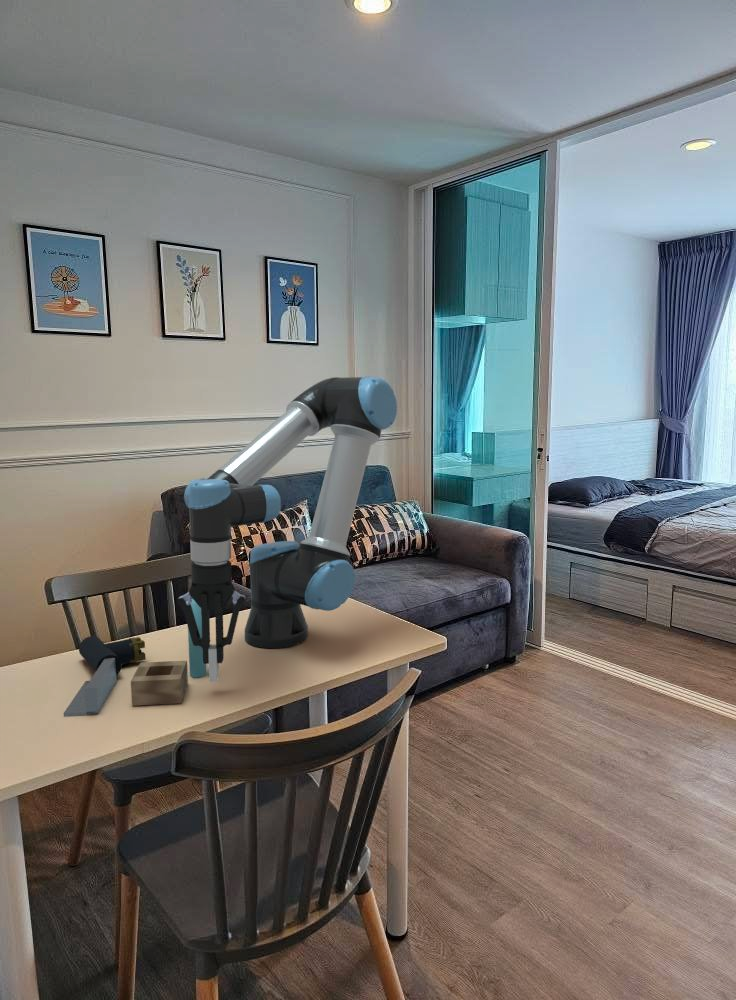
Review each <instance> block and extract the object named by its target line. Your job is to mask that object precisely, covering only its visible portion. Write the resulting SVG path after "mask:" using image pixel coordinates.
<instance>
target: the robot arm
mask: <svg viewBox="0 0 736 1000" xmlns="http://www.w3.org/2000/svg"><path fill="white" fill-rule="evenodd" d="M397 404H398V402H397V397H396V395H395V392H394V389H393V387H392V385H390V384H389V382H388V381H386V380H385V379H383V378H382V377H381V378H380V377H372V376H367V375H366V376H360V377H359V376H358V377H357V376H355V377H352V376H351V377H350V376H349V377H329V378H326V379H322V380H321V381H319V382H317V383H314V384H313V385H312V386H310V387H309V388H307V389H305V390H304V391H303V392H302V393H300V394H299V395H298V396H296V397H295V398H294V399H293V400H291V401H290V402H289V403H288V404H287V405H286V411H285V412H284V413H283V414H281V415H280V417H278V418H277V419H276V420H275V421H274V422H272V423H271V424H270V425H269V426H268V427H266V428H264V430H263V431H262V432H261V433H260V434H258V435H257V436H256V437H255V438H253V439H252V440H251V441H250V442H249V443H248V444H246V445H245V446H244V447H243V448H242V449H240V450H239V451H238V452H237V453H236V454H235V455H233V457H231V458H230V459H229V460H228V461H226V463H224V464H223V465H222V466H220V467H219V469H217V470H215V472H214V473H212V474H211V475H210V476H209V477H207V478H200V479H199V478H196V479H194V480H192V481H190V482H189V483H188V484H187V486H186V487H185V489H184V495H183V499H184V503H185V505H186V507H187V508H188V513H189V514H188V515H189V531H190V532H189V533H190V539H189V542H190V543H189V544H190V547H189V548H190V560H191V561H192V563H191V564H190V573H191V574H190V575H191V576H190V579H191V582H190V583H191V585H190V587H189V589H188V591H187V593H185V594H181V595H180V596H179V597H178V598H177V605H179V606H180V609H181V610H182V611H183V614H184V619H185V621H186V625H187V630H188V629H189V632H190V636H191V639H192V643H193V645H194V646H200V647H202V649H203V663H204V664H206V665H208V682H218V678H219V664H223V661H224V657H225V656H224V647H226V646H230V645H231V644H232V643H233V638H234V635H235V630H236V626H237V622H238V618H239V614H240V610H241V608H242V606H243V605H244V603H245V602H246V598H247V597H246V594H245V593H239V592H238V591H236V590H235V586H234V584H233V579H232V562H231V558H232V528H235V527H240V526H241V527H242V526H247V525H254V524H264V523H266V522H269V521H272V520H274V519H276V518H277V517H278V516H279V515H280V513H281V510H282V509H281V508H282V502H281V501H282V498H281V496H280V493H279V491H278V490H277V489H276V488H275V487H274V486H273V485H270V484H261V483H260V484H256V483H258V481H259V480H260V479H261V478H262V477H263V476H265V475H266V474H267V473H268V472H270V470H271V469H273V467H275V466H276V465H277V464H278V463H279V462H280V461H281V460H282V459H284V458H285V457H286V456H287V455H288V454H289V453H291V451H293V449H295V448H296V447H297V446H299V444H300V443H302V442H303V441H304V440H305V439H306V438H307V437H313V436H315V435H317V434H318V433H319V432H320V431H322V430H323V429H325V428H330V430H331V432H332V434H333V435H334V438H333V443H332V445H331V446H332V447H331V450H330V453H329V454H330V455H329V458H328V462H327V466H326V470H325V473H324V478H323V481H322V485H321V487H320V488H321V489H320V493H319V497H318V500H317V505H316V508H315V511H314V516H313V520H312V524H311V527H310V532H309V534H308V535H309V536H307V538H305V539H303V540H301V541H300V543H299V542H298V541H294V540H283V541H274V542H266V543H262V544H258V545H255V546H253V548H251V550H250V555H249V557H250V558H249V563H248V564H249V577H250V579H249V581H250V599H251V600H250V604H251V605H250V606H251V608H250V611H249V614H248V617H247V620H246V624H245V627H244V641H245V642H246V643H247V644H248V645H250V646H253V647H256V648H261V649H262V648H263V649H282V648H290V647H293V646H296V645H299V644H302V643H303V642H305V641H306V640H307V639H308V637H309V626H308V623H307V621H306V617H305V614H304V612H303V608H302V606H305V607H308V608H309V609H314V610H321V611H325V612H326V611H327V612H328V611H329V612H330V611H334V610H336V609H338V608H339V607H341V606H342V605H344V604H345V603H346V602H347V601H348V600H349V598H350V596H351V594H352V592H353V589H354V587H355V581H356V575H355V570H354V567H353V565H352V564H351V563H350V558H351V553H350V551H349V550H348V548H347V542H348V538H349V535H350V534H349V533H350V531H351V525H352V522H353V519H354V515H355V511H356V506H357V502H358V499H359V494H360V489H361V486H362V483H363V478H364V475H365V471H366V468H367V467H366V466H367V463H368V458H369V456H370V450H371V447H372V445H374V444H375V443H377V442H379V441H380V439H381V435H382V430H383V431H384V430H386V429H388V428H390V427H391V426H392V425H394V422H395V420H396V417H397V414H398V413H397V411H398V405H397ZM255 484H256V485H255ZM231 597H232V598H231ZM191 599H194V601H195V602H196V603H197V604H198V606H199V607H200V608H201V615H202V638H201V637H200V634H199V631H198V627H197V624H196V620H195V617H194V613H193V610H192V607H191V602H192V600H191ZM230 599H232V604H233V609H232V612H231V617H230V621H229V626H228V629H227V630H228V631H227V633H226V636H224V607H225V606H226V604H227V603H228V602H229V600H230ZM211 609H212V610H214V616H215V644H214V643H213V644H211V633H210V632H211V627H210V626H211V625H210V624H211V623H210V622H211V621H210V619H211V618H210V610H211Z"/></svg>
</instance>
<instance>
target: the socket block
mask: <svg viewBox="0 0 736 1000" xmlns="http://www.w3.org/2000/svg"><path fill="white" fill-rule="evenodd" d="M188 683H189V678H188V660H171V661H148V662H147V661H145V662H140V663H139V665H138V666H137V669H136V671H135V672H134V675H133V676H132V678H131V680H130V693H131V695H130V696H131V706H132V707H133V706H149V705H150V706H151V705H169V704H170V705H171V704H182V702H183V698H184V696H185V693H186V690H187V687H188Z"/></svg>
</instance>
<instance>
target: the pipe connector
mask: <svg viewBox="0 0 736 1000" xmlns="http://www.w3.org/2000/svg"><path fill="white" fill-rule="evenodd" d="M145 642H146V641H144V640H143V639H142V638H140V636H137V637H135V636H134V637H128V638H126V639H122V640H118V641H113V642H107V643H104V642H103V641H102V639H100V638H99V637H98V636H96V635H95V636H94V635H93V636H92V635H91V636H87V637H84V639H82V641H81V642H80V644H79V646H78V651H79V652H78V653H79V654H80V656H81V657H82V658H83V659H84V661H85V662H86V663H87V664H88V665H89V667H90V668H91V669H92V670H93V671H94V673H95V672H96V671H97V669H98V668H99V666H100V665H101V663H102V662H103V660H104V659H105V658H115V664H116V677H117V676H118V675H119V674H120V673H121V670H122V667H123V665H125V664H129V663H130V664H131V663H134V664H135V663H138V662H140V661H145V660H146V657H147V656H146V652H144V651H142V649H145V648H146V645H145Z"/></svg>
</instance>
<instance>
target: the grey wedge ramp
mask: <svg viewBox="0 0 736 1000" xmlns="http://www.w3.org/2000/svg"><path fill="white" fill-rule="evenodd" d="M117 682H118V681H117V676H116V664H115V658H105V659H104V660H103V662H102V663H101V665H100V666H99V668H98V669H97V671H96V672H95V671H94V674H93V675H92V677H91V678H90V679H89V680H85V681H84V683H83V684H82V686H81V687H80V689H79V690H78V691H77V693H76V694H75V696H74V697H73V698H72V700H71V702H70V703H69V705H68V706H67V707H66V708H65V710H64V711H63V717H73V716H74V717H75V716H78V717H79V716H95V715H99V714H100V712H101V710H102V708H103V707H104V705H105V703H106V702H107V700H108V698H109V697H110V694H111V693H112V691H113V690H114V687H115V686H116V684H117Z"/></svg>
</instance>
